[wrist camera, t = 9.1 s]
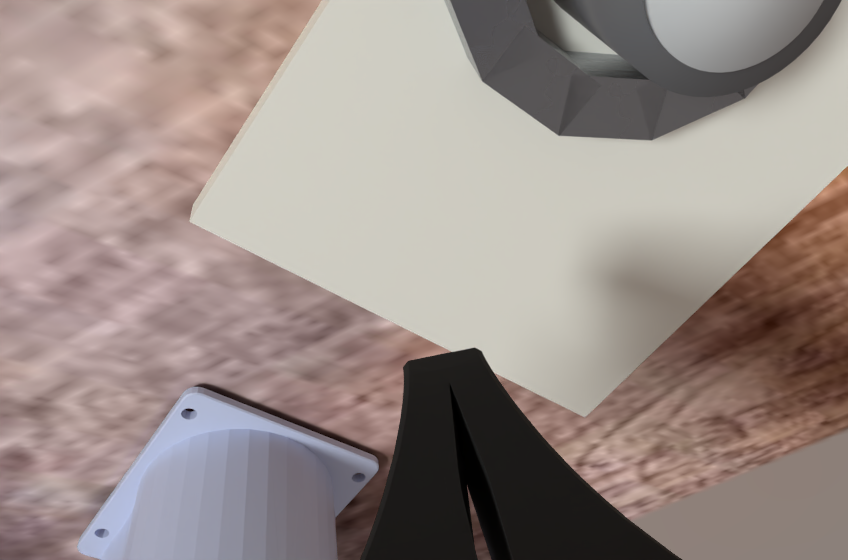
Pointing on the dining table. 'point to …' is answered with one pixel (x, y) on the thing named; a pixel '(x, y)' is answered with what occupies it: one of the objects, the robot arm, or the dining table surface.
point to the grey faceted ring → (570, 78)
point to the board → (513, 194)
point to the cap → (705, 38)
